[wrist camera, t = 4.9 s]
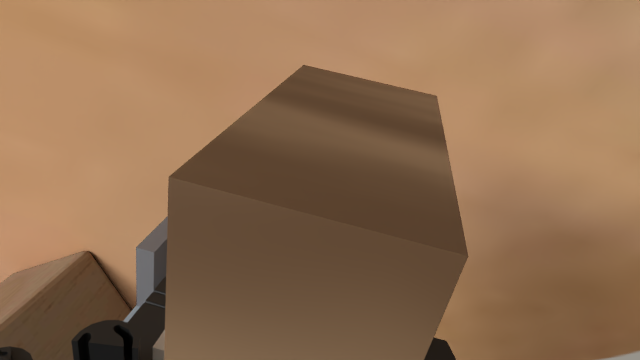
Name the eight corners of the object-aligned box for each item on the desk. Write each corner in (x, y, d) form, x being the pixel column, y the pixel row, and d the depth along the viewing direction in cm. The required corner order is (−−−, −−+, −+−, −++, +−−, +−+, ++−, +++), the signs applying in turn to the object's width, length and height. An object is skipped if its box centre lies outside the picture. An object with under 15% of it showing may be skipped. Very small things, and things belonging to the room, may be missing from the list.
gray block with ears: (187, 195, 33) (13, 367, 19) (286, 223, 32) (184, 424, 18) (181, 300, 38) (40, 499, 24) (267, 326, 38) (175, 547, 23)
